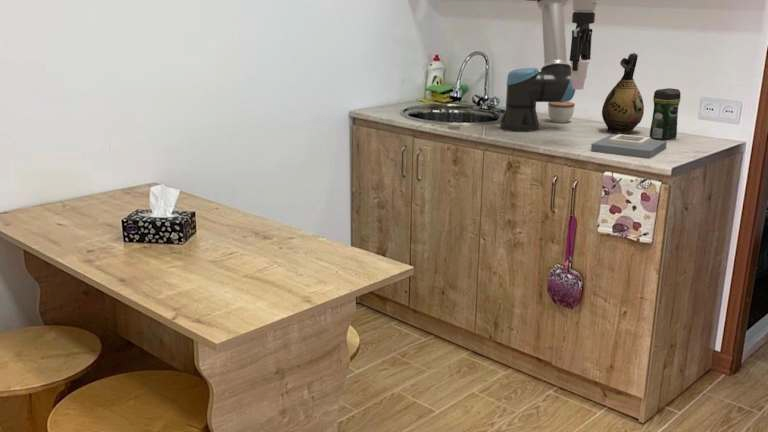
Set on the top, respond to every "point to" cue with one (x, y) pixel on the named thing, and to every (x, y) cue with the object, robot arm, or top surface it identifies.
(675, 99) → the coffee jar
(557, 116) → the lidded jar
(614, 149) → the plinth
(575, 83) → the smoothie
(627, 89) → the ceramic jug
